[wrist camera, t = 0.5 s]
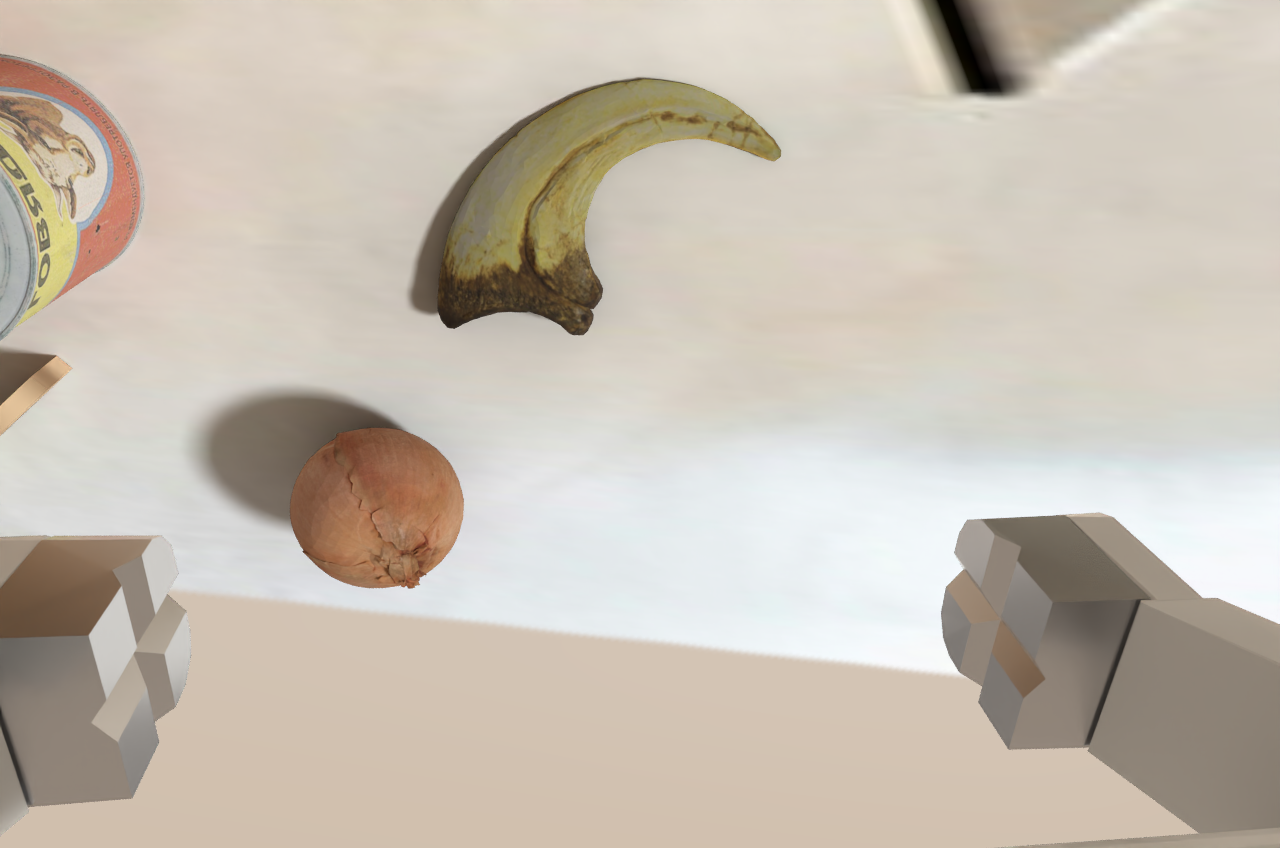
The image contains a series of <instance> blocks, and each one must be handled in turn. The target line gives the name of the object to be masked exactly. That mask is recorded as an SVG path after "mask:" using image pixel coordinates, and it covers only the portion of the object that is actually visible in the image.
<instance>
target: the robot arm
mask: <svg viewBox="0 0 1280 848" xmlns="http://www.w3.org/2000/svg"><path fill="white" fill-rule="evenodd" d="M954 553H955V555H956V557H957V559H958V560H959V562H960V564H961V566H962V567H963V569H964V570H963V571H962V572H961V573H960V574H959V575H958V576H957V577H956V578H955V579H954V580H953V581H952V582H951V583H950V584H949V585H948V586H947V587H946V590H945V595H944V600H943V606H942V611H941V617H942V629H943V638H944V641H945V644H946V647H947V650H948V653H949V656H950V658H951V659H952V661H953V663H954V664H955V666H956V667H957V669H958V671H959V672H960V673H961V674H963V675H965V676H966V677H968V678H969V679H971V680H973V681H974V682H976V683H978V684H979V685H981V686H982V690H981V694H980V698H979V701H978V702H979V704H980V706H981V707H982V709H983V710H984V712H985V713H986V715H987V717H988V718H989V720H990V721H991V723H992V724H993V726H994V727H995V729H996V730H997V732H998V734H999V735H1000V737H1001V739H1002V740H1003V742H1004V743H1005V745H1006V746H1007V748H1008V749H1009V750H1011V749H1046V748H1047V749H1048V748H1082V747H1083V748H1085V747H1089V749H1088V752H1090V753H1091V754H1092V755H1094V756H1095V757H1096V758H1098V759H1099V760H1100V761H1102V762H1103V763H1105V764H1106V765H1107V766H1109V767H1110V768H1111V769H1113V770H1114V771H1115V772H1117V773H1118V774H1120V775H1121V776H1122V777H1123V778H1125V779H1126V780H1128V781H1129V782H1130V783H1132V784H1133V785H1134V786H1136V787H1137V788H1138V789H1140V790H1141V791H1143V792H1144V793H1145V794H1147V795H1148V796H1149V797H1151V798H1152V799H1153V800H1155V801H1156V802H1157V803H1159V804H1160V805H1162V806H1163V807H1164V808H1166V809H1167V810H1168V811H1170V812H1171V813H1173V814H1174V815H1175V816H1177V817H1178V818H1179V819H1181V820H1182V821H1183V822H1185V823H1186V824H1187V825H1189V826H1190V827H1192V828H1193V829H1194V830H1196V831H1197V832H1198V833H1200V834H1187V835H1173V836H1160V837H1144V838H1129V839H1115V840H1100V841H1086V842H1072V843H1057V844H1042V845H1030V846H1029V845H1027V846H1013V847H998V848H1280V624H1277V623H1275V622H1272V621H1270V620H1268V619H1265V618H1263V617H1261V616H1258V615H1256V614H1254V613H1251V612H1249V611H1246V610H1244V609H1242V608H1239V607H1237V606H1235V605H1232V604H1230V603H1227V602H1225V601H1223V600H1220V599H1218V598H1202V597H1201V596H1200V595H1199V594H1198V593H1197V592H1195V591H1194V590H1193V589H1192V588H1191V587H1190V586H1189V585H1188V584H1187V583H1185V582H1184V581H1183V580H1182V579H1181V578H1180V577H1179V576H1178V575H1177V574H1175V573H1174V572H1173V571H1172V570H1171V569H1170V568H1169V567H1168V566H1167V565H1165V564H1164V563H1163V562H1162V561H1161V560H1160V559H1159V558H1158V557H1157V556H1156V555H1154V554H1153V553H1152V552H1151V551H1150V550H1149V549H1148V548H1147V547H1146V546H1144V545H1143V544H1142V543H1141V542H1140V541H1139V540H1138V539H1137V538H1136V537H1134V536H1133V535H1132V534H1131V533H1130V532H1129V531H1128V530H1127V529H1126V528H1125V527H1123V526H1122V525H1121V524H1120V523H1119V522H1118V521H1117V520H1116V519H1115V518H1113V517H1111V516H1108V515H1105V514H1102V513H1086V514H1069V515H1056V516H1038V517H1017V518H996V519H975V520H967V521H966V523H965V524H964V526H963V528H962V529H961V531H960V533H959V536H958V540H957V544H956V548H955V552H954ZM178 574H179V573H178V569H177V565H176V561H175V557H174V553H173V549H172V545H171V544H170V543H169V542H168V541H167V540H166V539H165V538H164V537H163V536H53V537H49V536H46V535H43V536H15V537H0V836H1V835H2V834H3V833H5V832H6V831H7V830H8V829H9V828H11V827H12V826H13V825H14V824H15V823H16V822H18V821H19V820H20V819H21V818H22V817H24V816H25V815H26V814H27V813H28V812H29V809H28V807H34V806H46V805H58V804H71V803H83V802H95V801H107V800H119V799H131V798H133V796H134V794H135V792H136V790H137V788H138V785H139V783H140V781H141V779H142V777H143V775H144V773H145V771H146V769H147V767H148V764H149V762H150V760H151V758H152V756H153V754H154V752H155V750H156V748H157V746H158V744H159V739H158V735H157V730H156V726H155V721H157V720H158V719H159V718H161V717H162V716H164V715H165V714H166V713H168V712H169V711H171V710H172V709H174V708H175V707H176V705H177V703H178V701H179V698H180V696H181V694H182V691H183V689H184V687H185V685H186V680H187V674H188V669H189V663H190V658H191V642H190V641H191V640H190V628H189V622H188V617H187V612H186V610H185V609H183V608H182V607H181V606H180V605H179V604H178V603H177V602H176V601H174V600H173V599H172V598H171V597H170V596H169V595H168V594H167V593H168V592H169V590H170V588H171V586H172V584H173V583H174V581H175V579H176V577H177V575H178Z"/></svg>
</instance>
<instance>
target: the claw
mask: <svg viewBox="0 0 1280 848" xmlns="http://www.w3.org/2000/svg"><path fill="white" fill-rule="evenodd" d="M683 139H706V140H711V141H715V142H720V143H723V144H727V145H730V146H733V147H736V148H738V149H741V150H744V151H748V152H750V153H753V154H755V155H758V156H760V157H762V158H764V159H767V160H770V161H775V160H777V159H778V158H780V157H781V150H780V148H779V147H778V145H777V144H776V142H775V140H774V139H773V138H772V137H771V136H770V135H769V134H768V133H767V132H766V131H765V130H764V129H763V128H762V127H761V126H760V125H758V123H757V122H756V121H755V120H754V119H753V118H752V117H750V116H749V115H747V114H746V113H745V112H744V111H742V110H741V109H740V108H739V107H737V106H736V105H734V104H732V103H731V102H729V101H728V100H726V99H724V98H722V97H720V96H718V95H716V94H714V93H712V92H709V91H707V90H705V89H702V88H699V87H696V86H692V85H688V84H683V83H677V82H670V81H663V80H650V79H640V80H635V81H630V82H620V83H615V84H610V85H607V86H603V87H600V88H596V89H593V90H590V91H587V92H584V93H581V94H579V95H577V96H574V97H572V98H570V99H568V100H566V101H564V102H562V103H561V104H559V105H557V106H555V107H553V108H552V109H550V110H549V111H547V112H545V113H544V114H542V115H541V116H540V117H538V118H537V119H535V120H534V121H532V122H531V123H530V124H528V125H527V126H525V127H524V128H523V129H521V130H520V131H519V132H518V133H517V135H516V136H514V137H513V138H511V139H510V140H509V141H508V142H507V143H506V144H505V145H504V146H503V147H502V148H501V149H500V150H499V151H498V152H497V153H496V154H495V155H494V156H493V157H492V159H491V160H490V161H489V162H488V164H487V165H486V166H485V167H484V169H483V170H482V171H481V173H480V174H479V175H478V177H477V178H476V180H475V181H474V183H473V184H472V186H471V187H470V189H469V191H468V193H467V194H466V196H465V198H464V200H463V202H462V204H461V206H460V208H459V210H458V212H457V214H456V216H455V219H454V221H453V223H452V226H451V228H450V231H449V234H448V237H447V241H446V245H445V250H444V255H443V261H442V266H441V271H440V277H439V290H438V312H439V315H440V318H441V321H442V322H443V323H444V324H445V325H446V326H447V328H453V329H455V328H457V327H459V326H461V325H462V324H464V323H467V322H469V321H471V320H473V319H477V318H480V317H483V316H487V315H491V314H494V313H498V312H532V313H535V314H538V315H542V316H544V317H546V318H548V319H550V320H552V321H554V322H556V323H557V324H559V325H561V326H562V327H563V328H564V329H565V330H566V331H567V332H568V333H570V334H572V335H584V334H585V333H586V332H587V331H588V329H589V327H590V325H591V324H592V321H593V313H592V311H591V310H590V309H594V308H595V306H596V305H597V304H598V302H599V301H600V299H601V298H602V293H603V288H602V285H601V283H600V280H599V279H598V277H597V276H596V275H595V273H594V271H593V269H592V267H591V264H590V260H589V257H588V253H587V251H586V248H585V241H584V240H585V220H586V218H587V213H588V209H589V206H590V204H591V201H592V198H593V195H594V192H595V191H596V189H597V187H598V185H599V184H600V182H601V180H602V179H603V177H604V175H605V174H606V173H607V172H608V170H609V169H611V168H612V167H613V166H614V165H615V164H617V163H618V162H619V161H621V160H622V159H623V158H625V157H627V156H629V155H631V154H633V153H635V152H637V151H639V150H640V149H643V148H646V147H649V146H651V145H654V144H657V143H662V142H668V141H674V140H683Z"/></svg>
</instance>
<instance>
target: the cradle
mask: <svg viewBox="0 0 1280 848" xmlns="http://www.w3.org/2000/svg"><path fill="white" fill-rule="evenodd" d="M71 369H72V368H71V367H70V366H69V365H67V364H66V363H65V362H64V361H62V360H61V359H60V358H59V357H57V356H56V357H55V358H53V359H52V360H51V361H50V362H48V363H47V364H46V365H45V366H43V367H42V368H41V369H40V370H39V371H37V372H36V373H35V374H34V375H32V376H31V377H30V378H29V379H28V380H27V381H26V382H25V383H24V384H23V385H22V386H20V387H19V388H18V389H17V390H16V391H15V392H14V393H13V394H12V395H11V396H10V397H9V398H8V399H7V400H6V401H5V402H4V403H2V404H1V405H0V435H2V434H3V433H4V432H5V431H6V430H7V429H8V428H9V427H10V426H11V425H12V424H13V423H14V422H15V421H17V420H18V419H19V418H20V417H21V416H22V415H23V414H24V413H25V412H26V411H27V410H28V409H29V408H30V407H32V406H33V405H34V404H35V403H36V402H37V401H38V400H39V399H40V398H41V397H42V396H43V395H44V394H45V393H47V392H48V391H49V390H50V389H51V388H52V387H53V386H54V385H55V384H56V383H57V382H58V381H59V380H60V379H61V378H63V377H64V376H65V375H66V374H67V373H68V372H69V371H70V370H71Z"/></svg>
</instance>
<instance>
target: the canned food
mask: <svg viewBox="0 0 1280 848" xmlns="http://www.w3.org/2000/svg"><path fill="white" fill-rule="evenodd" d="M143 205H144V186H143V179H142V174H141V170H140V166H139V163H138V160H137V157H136V154H135V152H134V150H133V147H132V145H131V143H130V141H129V139H128V138H127V136H126V134H125V132H124V131H123V129H122V128H121V126H120V125H119V123H118V122H117V121H116V119H115V118H114V117H113V116H112V114H111V113H110V112H109V111H108V110H107V109H106V108H105V106H104V105H103V104H102V103H101V102H100V101H99V100H97V99H96V98H95V97H94V96H93V95H92V94H91V93H90V92H88V91H87V90H86V89H85V88H83V87H82V86H81V85H79V84H78V83H76V82H75V81H73V80H72V79H70V78H69V77H67V76H65V75H63V74H61V73H60V72H58V71H56V70H53V69H51V68H49V67H47V66H45V65H42V64H39V63H36V62H33V61H30V60H26V59H22V58H18V57H12V56H5V55H0V341H1V340H2V339H3V338H4V337H6V336H7V335H8V334H9V333H10V332H11V331H12V330H13V329H14V328H15V327H17V326H18V325H20V324H21V323H22V322H24V321H25V320H27V319H28V318H30V317H31V316H33V315H34V314H35V313H37V312H38V311H40V310H41V309H43V308H44V307H46V306H47V305H48V304H50V303H51V302H53V301H54V300H56V299H57V298H59V297H60V296H61V295H63V294H64V293H66V292H67V291H69V290H70V289H72V288H73V287H74V286H76V285H77V284H79V283H80V282H82V281H83V280H85V279H86V278H87V277H89V276H90V275H92V274H94V273H96V272H98V271H100V270H102V269H103V268H105V267H107V266H108V265H110V264H111V263H112V262H113V261H115V260H116V259H117V258H118V257H119V256H120V255H121V254H122V253H123V252H124V251H125V250H126V248H127V247H128V246H129V245H130V243H131V241H132V240H133V238H134V236H135V234H136V232H137V230H138V227H139V224H140V221H141V218H142V212H143Z"/></svg>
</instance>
